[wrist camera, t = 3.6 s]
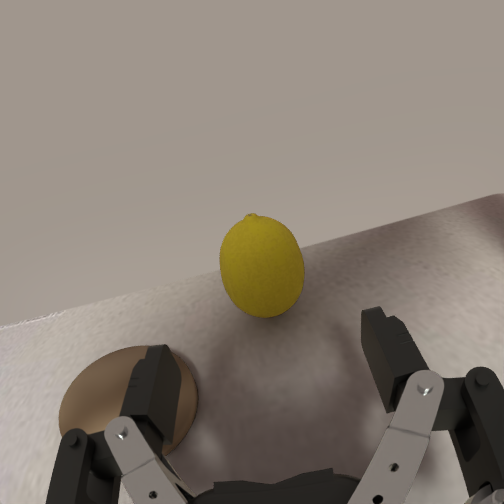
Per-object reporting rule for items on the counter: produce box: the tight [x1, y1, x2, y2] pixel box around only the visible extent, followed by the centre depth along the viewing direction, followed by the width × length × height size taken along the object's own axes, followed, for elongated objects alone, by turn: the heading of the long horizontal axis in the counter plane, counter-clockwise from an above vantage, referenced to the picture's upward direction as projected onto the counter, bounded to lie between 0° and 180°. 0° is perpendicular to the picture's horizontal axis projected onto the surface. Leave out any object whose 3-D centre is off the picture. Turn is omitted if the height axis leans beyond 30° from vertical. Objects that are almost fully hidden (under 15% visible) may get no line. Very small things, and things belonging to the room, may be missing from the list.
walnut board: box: [59, 346, 198, 456], centre depth 17 cm, size 10×10×1 cm
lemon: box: [220, 213, 304, 318], centre depth 21 cm, size 6×6×8 cm
